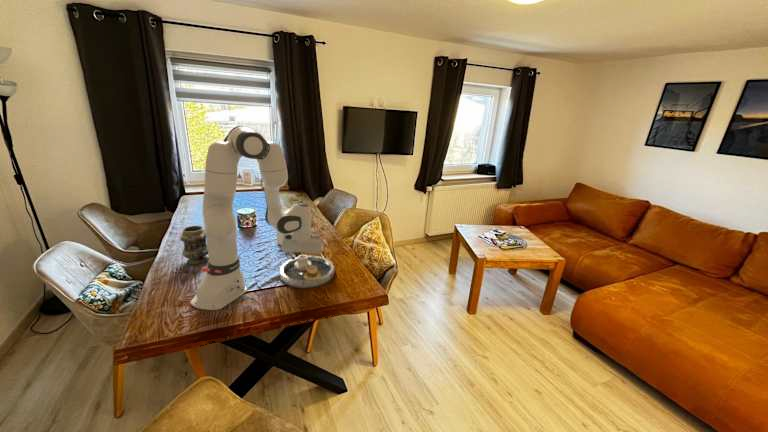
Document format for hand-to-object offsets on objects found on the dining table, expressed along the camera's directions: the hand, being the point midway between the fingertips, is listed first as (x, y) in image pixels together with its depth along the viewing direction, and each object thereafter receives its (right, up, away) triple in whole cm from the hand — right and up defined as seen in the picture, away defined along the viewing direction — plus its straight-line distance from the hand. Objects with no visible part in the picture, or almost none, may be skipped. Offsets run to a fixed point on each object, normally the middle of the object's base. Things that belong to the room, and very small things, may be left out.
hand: (302, 259), depth 154 cm
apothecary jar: (-54, -1, +1) cm, 54 cm away
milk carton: (-17, +6, +27) cm, 32 cm away
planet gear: (0, -4, +1) cm, 4 cm away
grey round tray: (+3, -7, -3) cm, 8 cm away
